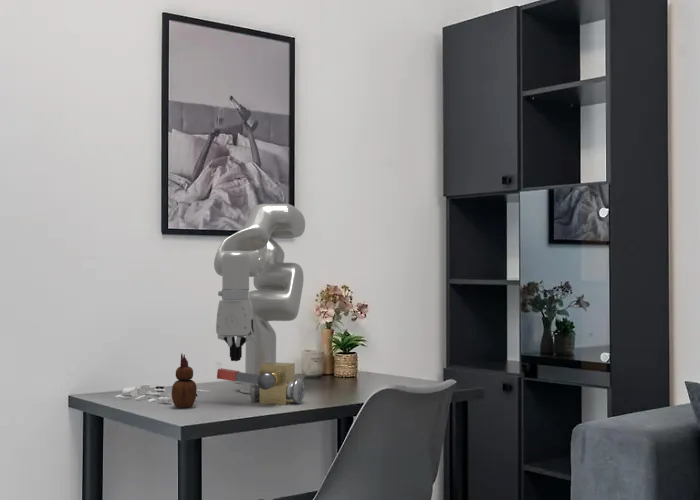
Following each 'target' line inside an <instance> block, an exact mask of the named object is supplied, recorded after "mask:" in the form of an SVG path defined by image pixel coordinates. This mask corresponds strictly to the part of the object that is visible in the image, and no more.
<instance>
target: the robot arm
mask: <svg viewBox="0 0 700 500" xmlns="http://www.w3.org/2000/svg"><path fill="white" fill-rule="evenodd" d="M305 228H306V219H305V217H304V215H303V212H301V211H300V210H299V209H298V208H296V207H295V206H294V205H292V204H289V203H260V204H258V205H256V206H254V207H253V208H252V209H251V212H250V214H249V215H248V218H247V220H246V223H245V225H244V226H243V228H242V229H240V230H237V232H235V233H233V234H231V235H230V236H228V237H226V238H225V239H224V240H223V241H222V242H221V243H220V245H219V247H218V249H217V252H216V254H215V256H214V260H213V267H214V270H215V273H216V274H217V275H218V276H220V277H222V283H221V284H222V287H221V290H219V291H218V292H217V295H218V297H221V300H219V302H218V307H217V314H216V322H215V330H216V331H215V332H216V334H217V339H218V340H221V341H224V342H225V343H226V344H227V345H228V346H227V347H229V358H230V361H231V362H238V361H241V359H242V358H243V357H242V350H243V346H244V344H245V367H244V371H245V372H244V373H249V374H255V375H260V364H264V363H268V362H277V334H276V331H275V330H274V328H273V327H272V325H271V324H270V323H269V322H274V321H275V322H290V321H294V320H295V319H296V318H297V317H298V314H299V310H300V304H301V299H302V293H303V287H304V278H305V277H304V271H303V268H302V266H301V265H300V264H298V263H295V262H284V259H285V252H284V250H283V248H282V247H281V245H280V244H279V243H278V242H277V241H276V240H275V239H274V238H299V237H301V236H302V235H303V234H304V233H305ZM250 278H253V282H252V283H253V286H254V288H255V290H250ZM233 384H234V385H241V387H239V388H240V389H239V391H240V392H241V393H243V394H249V395H250V385H251V383H247V382H241V381H233Z"/></svg>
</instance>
